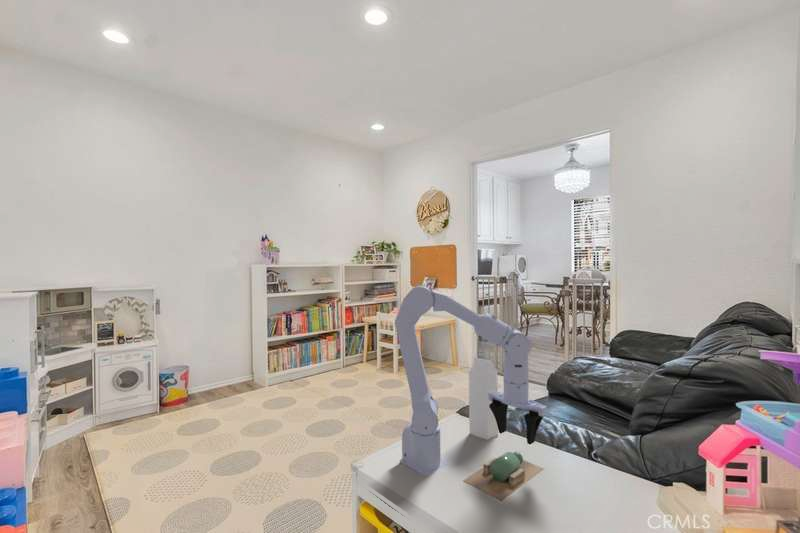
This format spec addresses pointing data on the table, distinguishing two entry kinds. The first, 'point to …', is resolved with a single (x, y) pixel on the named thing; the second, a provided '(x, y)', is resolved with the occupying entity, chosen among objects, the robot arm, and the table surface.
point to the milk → (482, 398)
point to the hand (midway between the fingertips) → (516, 437)
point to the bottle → (505, 465)
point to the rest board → (505, 488)
